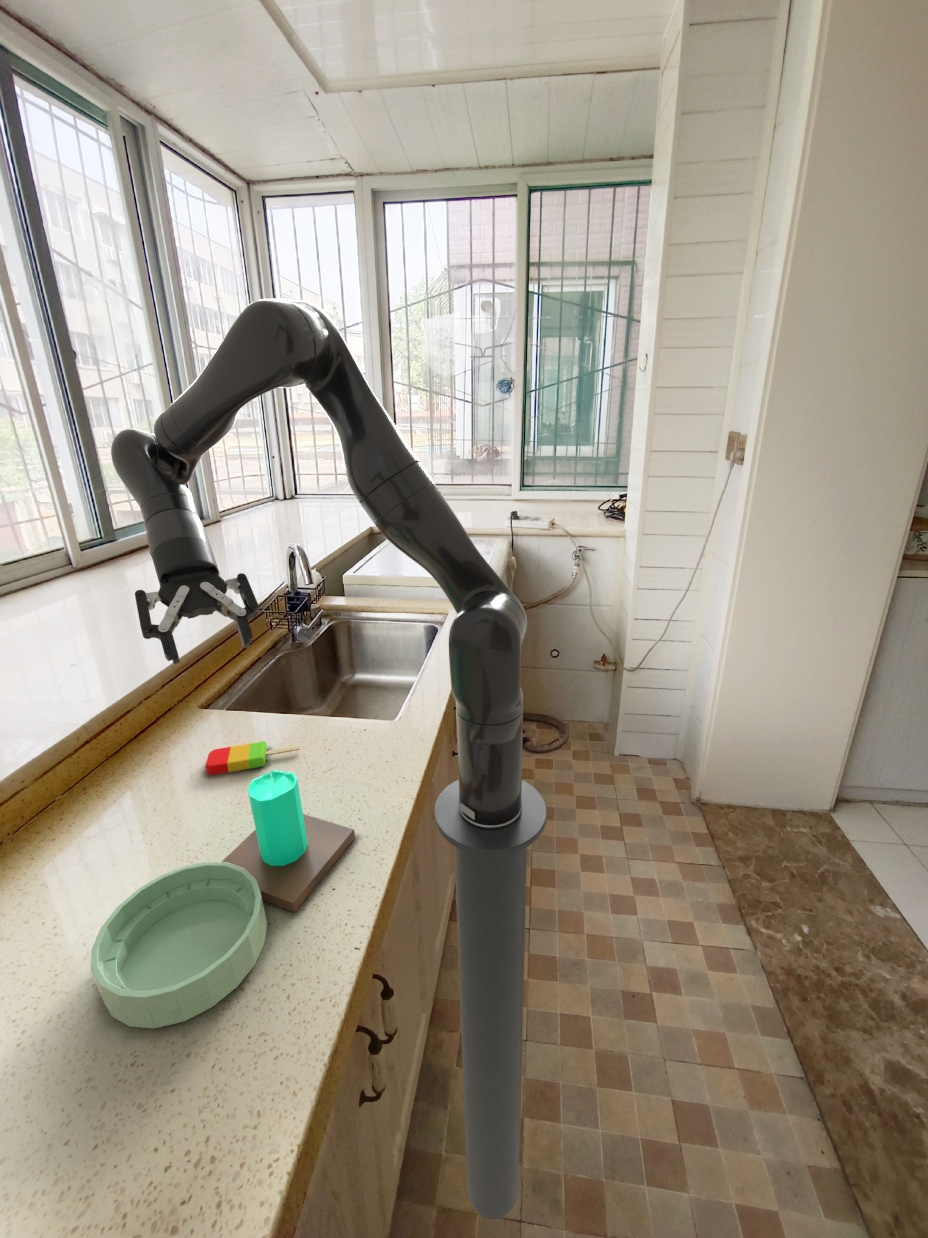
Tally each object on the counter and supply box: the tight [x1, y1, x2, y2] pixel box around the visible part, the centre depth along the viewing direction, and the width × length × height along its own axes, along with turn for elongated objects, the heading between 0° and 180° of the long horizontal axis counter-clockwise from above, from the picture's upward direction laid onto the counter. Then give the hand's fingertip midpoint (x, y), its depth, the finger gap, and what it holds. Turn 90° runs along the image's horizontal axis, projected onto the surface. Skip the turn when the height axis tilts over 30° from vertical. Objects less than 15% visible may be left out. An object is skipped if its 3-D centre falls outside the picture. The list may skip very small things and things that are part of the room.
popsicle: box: [205, 740, 301, 776], centre depth 93 cm, size 6×15×2 cm, turn 105°
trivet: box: [221, 813, 356, 913], centre depth 72 cm, size 13×13×2 cm
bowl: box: [90, 861, 268, 1029], centre depth 59 cm, size 16×16×5 cm
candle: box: [247, 769, 308, 866], centre depth 70 cm, size 6×6×12 cm
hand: (212, 653), depth 70 cm, fingers open, 8 cm apart
